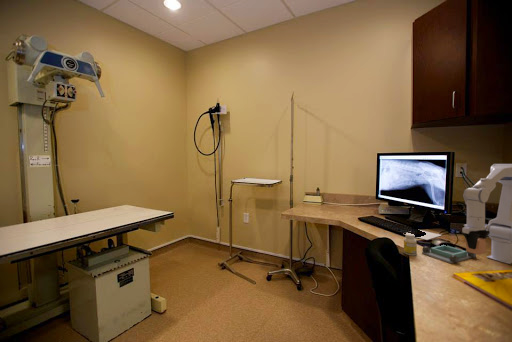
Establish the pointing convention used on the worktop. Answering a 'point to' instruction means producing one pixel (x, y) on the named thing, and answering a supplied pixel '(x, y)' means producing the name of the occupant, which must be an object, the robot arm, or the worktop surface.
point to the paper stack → (429, 235)
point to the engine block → (477, 247)
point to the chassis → (447, 253)
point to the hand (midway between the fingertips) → (475, 247)
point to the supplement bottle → (410, 244)
